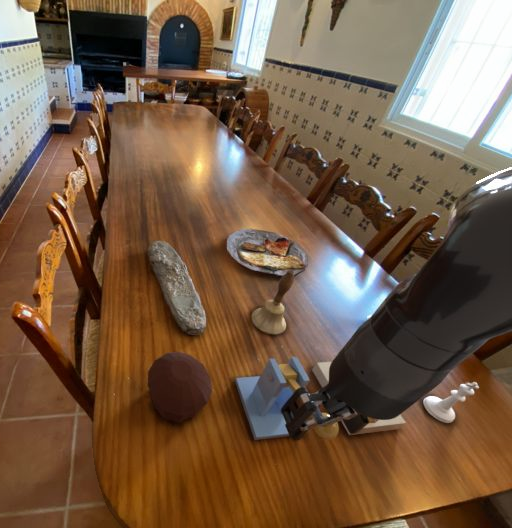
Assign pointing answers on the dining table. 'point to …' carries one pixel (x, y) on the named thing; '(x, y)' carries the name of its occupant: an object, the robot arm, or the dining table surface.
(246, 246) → the food plate
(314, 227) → the dining table surface
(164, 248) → the long grey stone
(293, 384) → the flush lever
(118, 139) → the dining table surface
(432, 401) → the chess piece
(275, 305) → the hand bell
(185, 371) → the brown rounded faceted lump
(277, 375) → the lever bracket
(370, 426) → the dial knob panel
